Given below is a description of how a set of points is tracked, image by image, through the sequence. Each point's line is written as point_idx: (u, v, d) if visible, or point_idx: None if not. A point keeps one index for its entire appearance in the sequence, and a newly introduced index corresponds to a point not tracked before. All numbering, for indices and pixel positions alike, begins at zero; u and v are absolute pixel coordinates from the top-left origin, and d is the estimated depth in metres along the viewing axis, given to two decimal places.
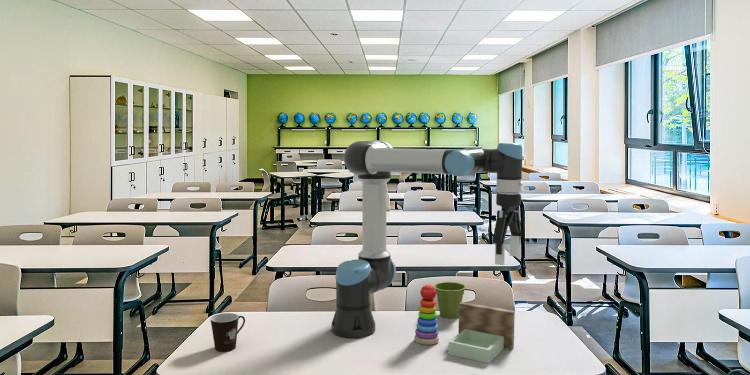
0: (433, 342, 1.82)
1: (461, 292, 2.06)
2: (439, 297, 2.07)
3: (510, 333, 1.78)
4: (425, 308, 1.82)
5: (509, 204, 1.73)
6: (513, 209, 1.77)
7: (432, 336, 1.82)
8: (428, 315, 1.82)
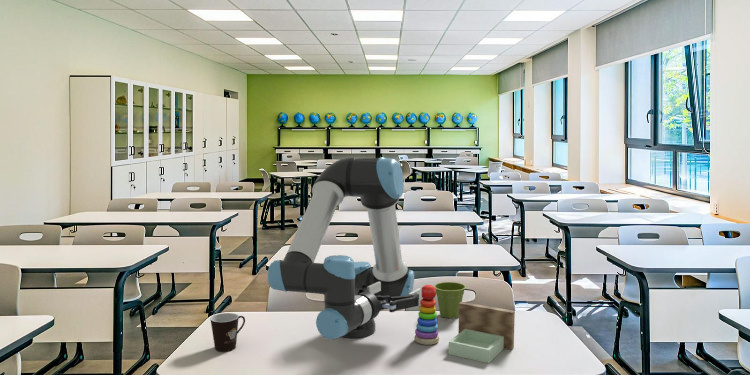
0: (433, 342, 1.82)
1: (461, 292, 2.06)
2: (439, 297, 2.07)
3: (510, 333, 1.78)
4: (425, 308, 1.82)
5: None
6: None
7: (432, 336, 1.82)
8: (428, 315, 1.82)
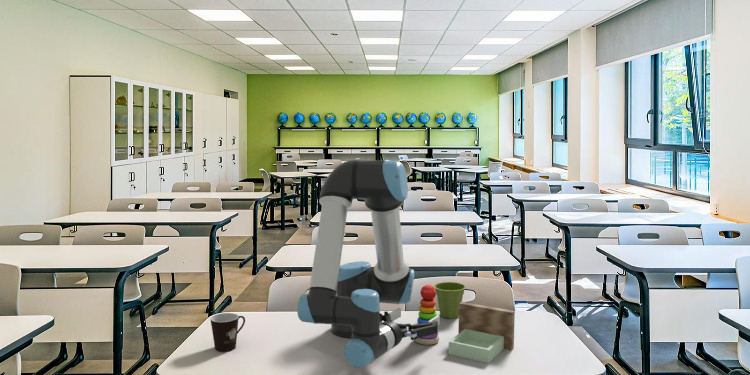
0: (433, 342, 1.82)
1: (461, 292, 2.06)
2: (439, 297, 2.07)
3: (510, 333, 1.78)
4: (425, 308, 1.82)
5: None
6: None
7: (432, 336, 1.82)
8: (428, 315, 1.82)
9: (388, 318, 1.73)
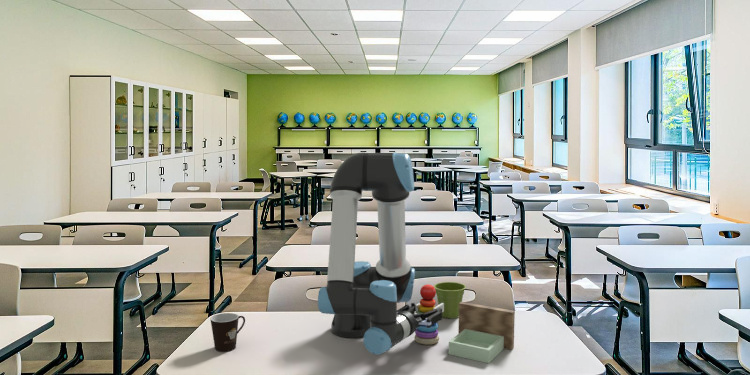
0: (433, 342, 1.82)
1: (461, 292, 2.06)
2: (439, 297, 2.07)
3: (510, 333, 1.78)
4: (425, 307, 1.82)
5: None
6: None
7: (432, 336, 1.82)
8: None
9: (410, 309, 1.81)
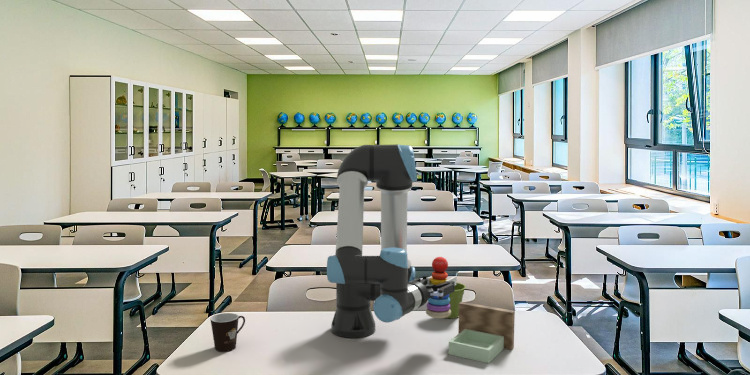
0: (445, 315, 1.77)
1: (461, 292, 2.06)
2: None
3: (510, 333, 1.78)
4: (436, 280, 1.78)
5: None
6: None
7: (444, 309, 1.77)
8: None
9: (422, 281, 1.77)
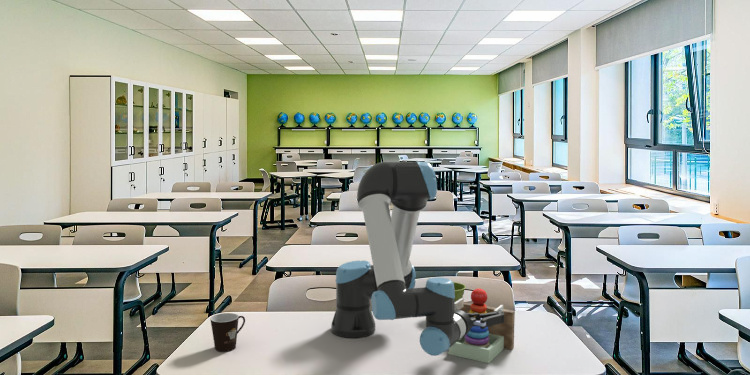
0: None
1: (461, 292, 2.06)
2: None
3: (510, 333, 1.78)
4: None
5: None
6: None
7: (484, 342, 1.74)
8: None
9: (454, 308, 1.73)
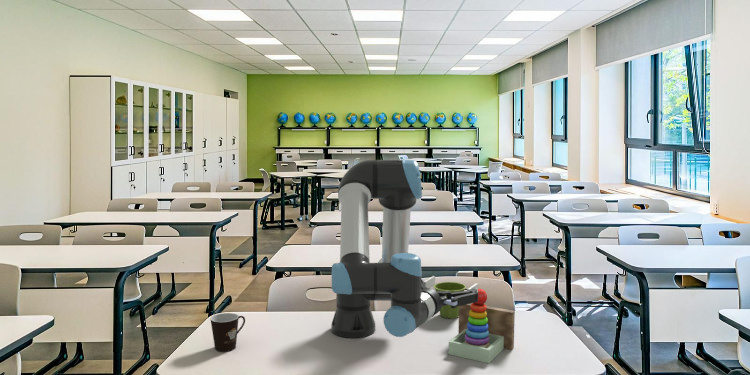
0: None
1: None
2: None
3: (510, 333, 1.78)
4: (476, 313, 1.74)
5: None
6: None
7: (484, 342, 1.74)
8: (479, 320, 1.74)
9: (424, 286, 1.62)
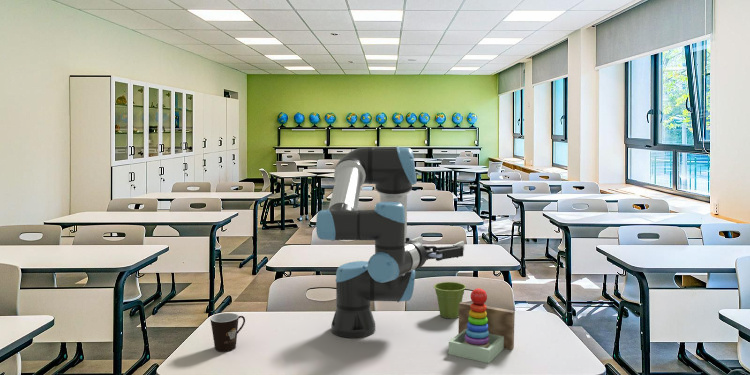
0: None
1: (461, 292, 2.06)
2: (439, 297, 2.07)
3: (510, 333, 1.78)
4: (476, 313, 1.74)
5: None
6: None
7: (484, 342, 1.74)
8: (479, 320, 1.74)
9: None
